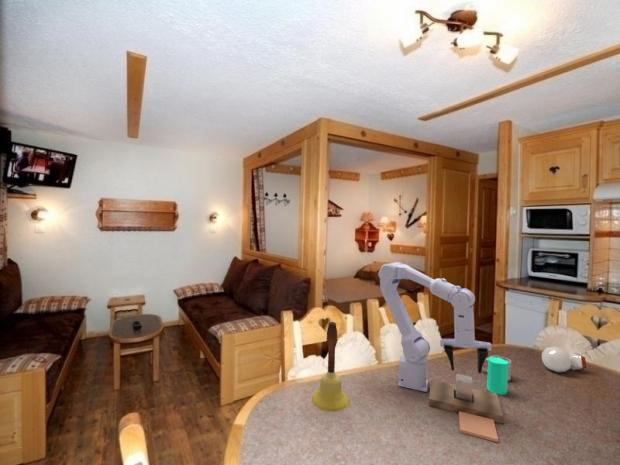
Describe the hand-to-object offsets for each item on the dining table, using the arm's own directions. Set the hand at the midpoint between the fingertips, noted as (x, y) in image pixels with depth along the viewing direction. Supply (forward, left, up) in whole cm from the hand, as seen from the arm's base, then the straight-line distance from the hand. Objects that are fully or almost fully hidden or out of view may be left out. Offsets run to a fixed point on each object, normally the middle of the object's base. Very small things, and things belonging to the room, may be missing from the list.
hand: (465, 370), depth 98 cm
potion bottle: (+37, +43, -11) cm, 57 cm away
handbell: (-39, -17, -11) cm, 44 cm away
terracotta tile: (+3, -12, -11) cm, 16 cm away
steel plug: (0, 0, -11) cm, 11 cm away
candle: (+11, +14, -11) cm, 21 cm away
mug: (+12, +26, -11) cm, 30 cm away
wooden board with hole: (0, 0, -11) cm, 11 cm away
